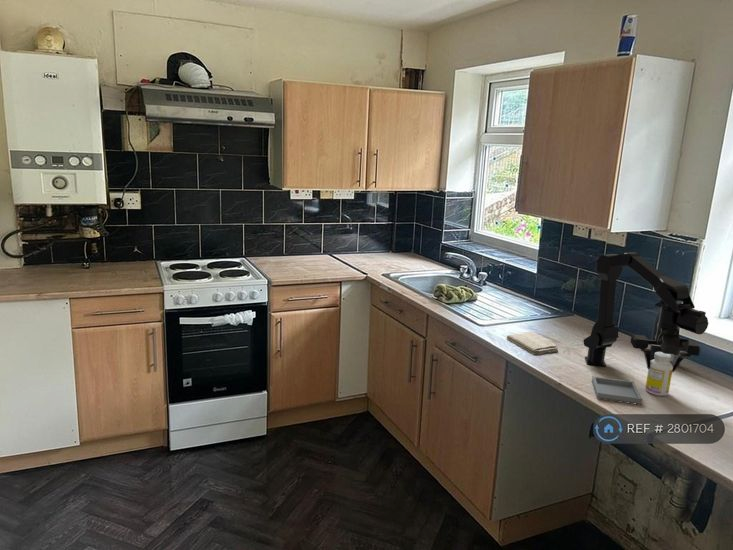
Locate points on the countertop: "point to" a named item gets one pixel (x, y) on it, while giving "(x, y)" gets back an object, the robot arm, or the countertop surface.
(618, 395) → the tray
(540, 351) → the washcloth
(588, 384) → the countertop surface
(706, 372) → the countertop surface
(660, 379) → the supplement bottle
